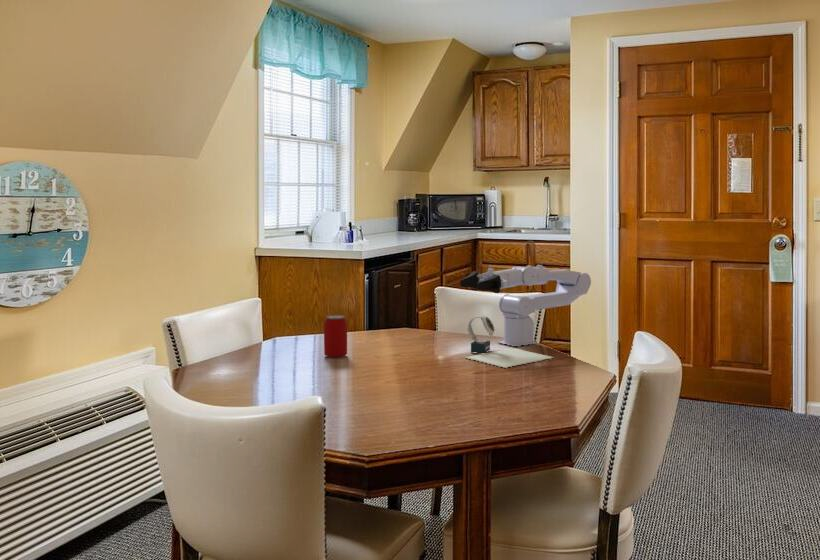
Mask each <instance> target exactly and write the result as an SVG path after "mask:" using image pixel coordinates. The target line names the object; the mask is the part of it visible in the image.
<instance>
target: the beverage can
mask: <svg viewBox="0 0 820 560" xmlns="http://www.w3.org/2000/svg"><path fill="white" fill-rule="evenodd" d="M324 319H325V320H324V321H323V341H324V342H323V345H324V346H323V347H324V349H323V350H324V352H323V353H324V356H325V357H327V358H330V359H342V358H344V357H345V356H347V355H348V322H347V319H346V318H345V315H341V314H329V315H326V317H325V318H324Z"/></svg>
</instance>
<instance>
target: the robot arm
mask: <svg viewBox="0 0 820 560" xmlns="http://www.w3.org/2000/svg"><path fill="white" fill-rule="evenodd" d="M591 278H592V277H591V275H590V274H588V272H587V273H586V272H583V273H582V272H579V271H575V270H568V269H554V270H553V269H552V270H548V268H547V267H545V266H543V264H537V265H536V266H532V265H526V266H516V265H515V266H513V267H512V268H508V269H500V270H495V269H494V268H492V267H491V268H490V267H489V268H487V271H486V272H484V273H481V274H478V271H477V270H476V271H475V270H474V271H471V273H469V275H468V276H465V277H463V278H461V279H460V280H459V286H460V287H462V288H471V289H473V290H477V291H483V292H484V291H485V292H492V293H493V294H500V292H501V290H503V289H507V288H514V287H516V286H528V287H531V286H533V285H534V286H535V285H545V284H547V283H549V281H556V282H557V284H556V288H555V291H552V292H546V293H545V292H544V293H539V294H538V293H537V294H532V295H531V294H530V295H512V294H508V293H506V294H505V293H504V294H503V295H502V296H501V298H500V299H499V302H498V308H499V311H500V312H501V313H502V316H503V340H500V341H499V342H500V343H504V344H508V345H507V346H509V345H512V346H511V347H513V346H518V347H522V346H521V345H524V346H528V344H529V345H534V344H536V341H534V336H535V334H534V333H535V332H534V331H535V326H534V325H535V323H534V320H533V318H532V317H531V316H530V315H531V314H533V313H534V314H535V312H536V311H538V310H539V311H540V310H543V309H551V308H558V307H563V306H564V307H565V306H570V305H571V304H572V303H574V302H575V300H577V299H578V298H579V297H581V296H583V295H586V294H588V291H589V289H590V288H591V284H592V280H591ZM504 344H503V345H504Z"/></svg>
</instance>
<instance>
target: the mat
mask: <svg viewBox="0 0 820 560" xmlns="http://www.w3.org/2000/svg"><path fill="white" fill-rule="evenodd" d="M465 358H467V359H466V360H469V359H471V360H470V361H473V360H476V361H475V362H477V361H479V362H478V363H481V362H483V363H482V364H485V363H487V364H486V365H489V364H491V365H490V366H493V365H495V366H494V367H496V366H498V367H497V368H500V367H503V368H502V369H504V368H506V369H509V368H508V367H511V368H513V367H512V366H516V365H521V364H526V363H530V362H535V361H540V360H544V359H550V360H552V359H551V358H554V357H553V356H549V355H545V354H541V353H537V352H531V351H527V350H523V349H518V348H508V349H502V350H497V351H489V352H488V353H485V354H474V355H470V356H465ZM540 362H541V361H540ZM535 363H536V362H535ZM526 365H527V364H526ZM521 366H522V365H521ZM516 367H517V366H516Z"/></svg>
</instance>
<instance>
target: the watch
mask: <svg viewBox="0 0 820 560" xmlns="http://www.w3.org/2000/svg"><path fill="white" fill-rule="evenodd" d="M475 319H480V320H481V322H482V326H483V328H484V329H485V331H486V332H487V333H488V335H489V337H488V338H487V339H485V340H483V339H482V340H480V339H478V338H477V336H476V334H475V333H474V330H473V326H472V322H473V321H474V320H475ZM467 332H468V334H469V337H470V338H471V340H472V341H473V342H470V353H471V352H477V353H486V352H487V351H488V350H490V351H491V339H492V338H493V336H494V333H495V326H494V324H493V322H492V320H491V319H490V318H489V317H488V316H485V315H477V316H475V317H473V318H471V319H470V320H469V322H468V323H467Z"/></svg>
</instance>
